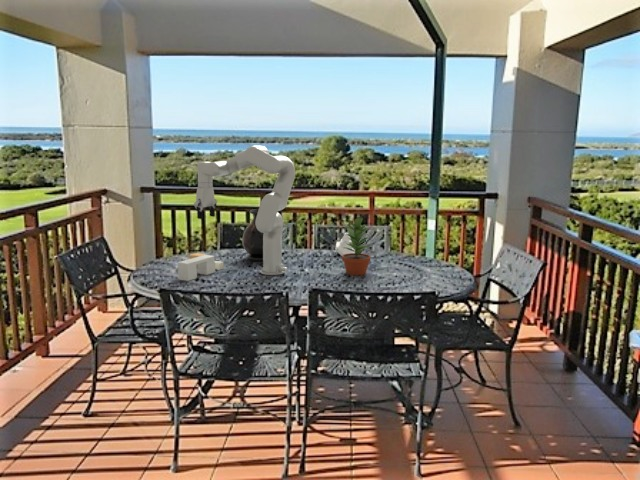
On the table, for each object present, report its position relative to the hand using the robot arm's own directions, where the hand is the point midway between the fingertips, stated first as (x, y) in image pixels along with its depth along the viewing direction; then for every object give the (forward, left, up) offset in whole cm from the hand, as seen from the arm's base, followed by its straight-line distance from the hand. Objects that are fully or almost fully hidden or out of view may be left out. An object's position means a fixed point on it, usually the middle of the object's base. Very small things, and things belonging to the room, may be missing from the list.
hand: (206, 217), depth 286 cm
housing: (-9, +19, -26) cm, 34 cm away
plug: (-1, +2, -26) cm, 26 cm away
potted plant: (-75, -28, -26) cm, 84 cm away
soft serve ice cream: (-50, -66, -27) cm, 87 cm away
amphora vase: (-15, -29, -26) cm, 42 cm away
